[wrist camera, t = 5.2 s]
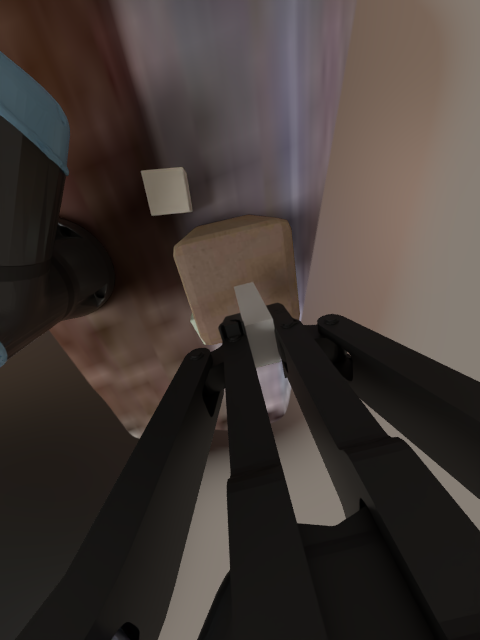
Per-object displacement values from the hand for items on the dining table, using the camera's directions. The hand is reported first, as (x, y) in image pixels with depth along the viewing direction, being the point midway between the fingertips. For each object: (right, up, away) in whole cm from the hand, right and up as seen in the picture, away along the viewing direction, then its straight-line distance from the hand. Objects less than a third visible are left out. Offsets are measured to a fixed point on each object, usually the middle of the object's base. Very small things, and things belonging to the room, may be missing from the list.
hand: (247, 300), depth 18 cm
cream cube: (-10, +17, +16) cm, 25 cm away
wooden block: (-2, +10, +20) cm, 23 cm away
